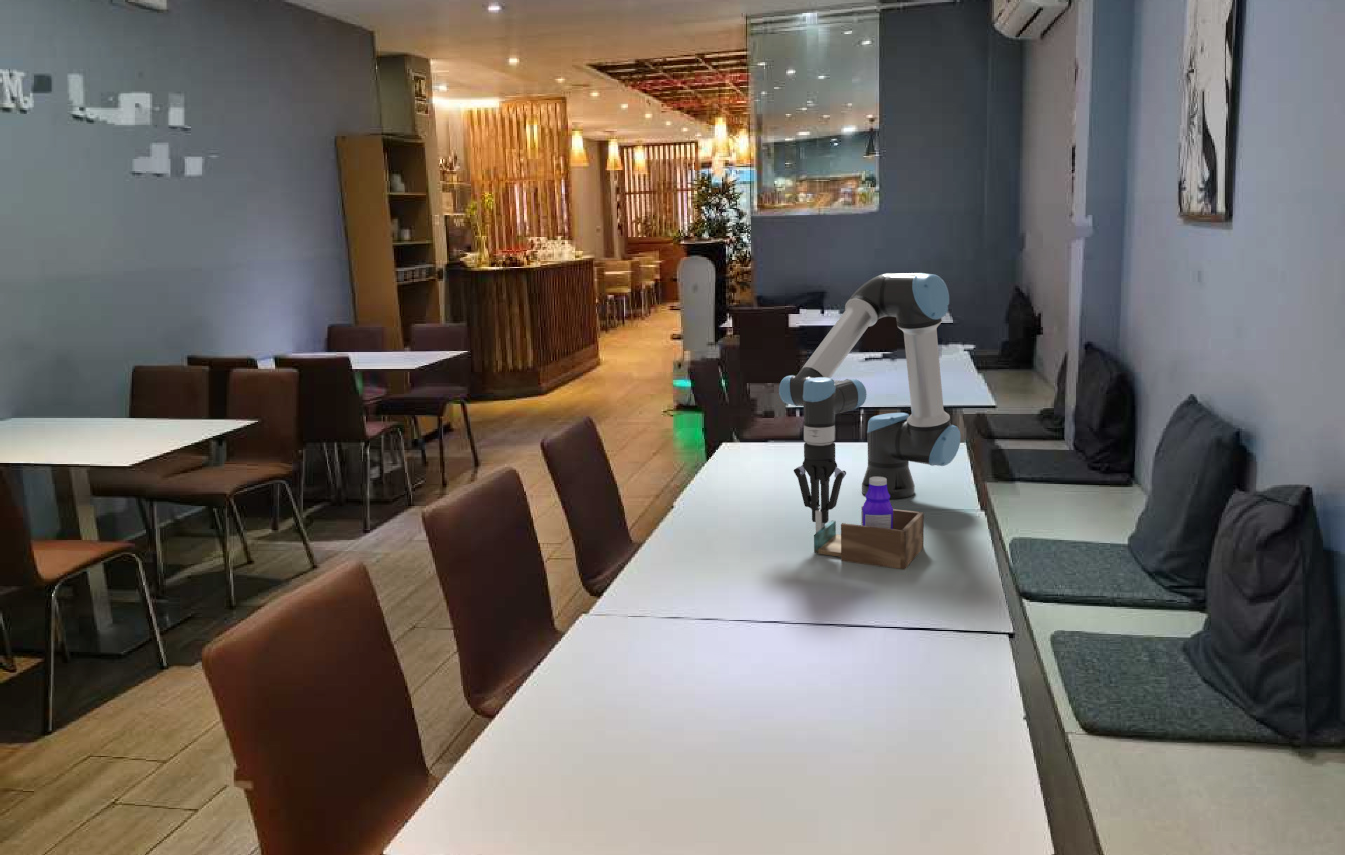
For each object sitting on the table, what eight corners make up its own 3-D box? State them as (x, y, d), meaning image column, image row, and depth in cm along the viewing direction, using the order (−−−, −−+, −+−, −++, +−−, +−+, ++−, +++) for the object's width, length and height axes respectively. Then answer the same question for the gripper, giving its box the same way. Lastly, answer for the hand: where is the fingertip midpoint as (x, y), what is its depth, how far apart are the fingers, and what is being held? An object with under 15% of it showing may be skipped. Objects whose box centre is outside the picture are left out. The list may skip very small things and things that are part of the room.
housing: (862, 540, 242) (862, 505, 240) (923, 547, 234) (923, 512, 233) (841, 560, 228) (840, 524, 226) (904, 569, 221) (904, 531, 219)
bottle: (891, 544, 234) (891, 474, 231) (894, 552, 229) (894, 481, 225) (860, 544, 235) (860, 475, 231) (863, 552, 229) (862, 481, 226)
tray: (832, 537, 244) (831, 520, 243) (915, 548, 234) (915, 530, 233) (814, 553, 233) (813, 534, 232) (900, 564, 223) (900, 545, 222)
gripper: (788, 443, 233) (790, 536, 238) (839, 447, 227) (840, 542, 232) (800, 436, 240) (801, 527, 245) (850, 440, 233) (850, 533, 238)
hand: (820, 534), depth 238 cm, fingers closed
